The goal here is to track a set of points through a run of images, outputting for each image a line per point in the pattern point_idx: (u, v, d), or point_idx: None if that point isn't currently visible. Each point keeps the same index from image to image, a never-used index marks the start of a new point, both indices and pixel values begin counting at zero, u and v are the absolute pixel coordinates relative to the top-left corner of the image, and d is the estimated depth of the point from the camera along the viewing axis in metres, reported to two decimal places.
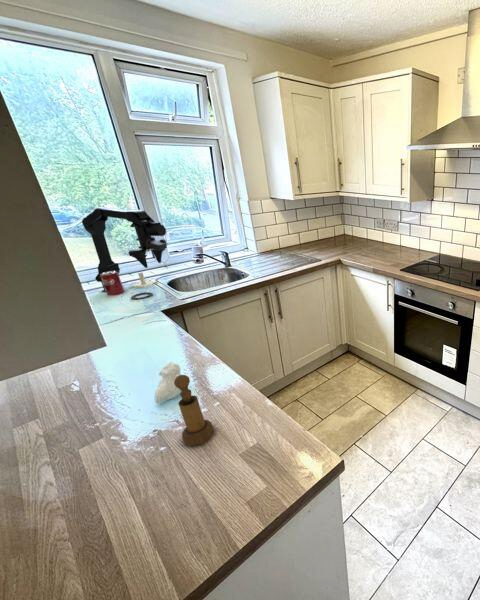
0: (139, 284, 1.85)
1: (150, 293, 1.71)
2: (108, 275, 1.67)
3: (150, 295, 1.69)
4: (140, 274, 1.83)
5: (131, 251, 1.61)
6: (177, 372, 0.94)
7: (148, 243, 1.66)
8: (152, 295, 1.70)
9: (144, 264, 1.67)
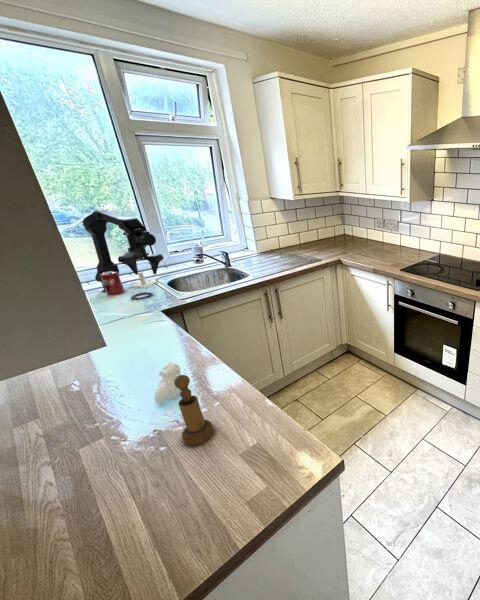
0: (139, 284, 1.85)
1: (150, 293, 1.71)
2: (108, 275, 1.67)
3: (150, 295, 1.69)
4: (140, 274, 1.83)
5: None
6: (177, 372, 0.94)
7: None
8: (152, 295, 1.70)
9: None
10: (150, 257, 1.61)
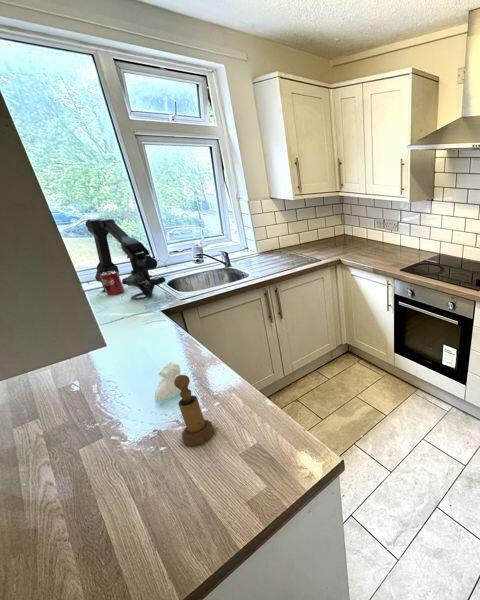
0: None
1: None
2: (108, 275, 1.67)
3: None
4: None
5: None
6: (177, 372, 0.94)
7: None
8: (152, 295, 1.70)
9: None
10: (152, 280, 1.62)
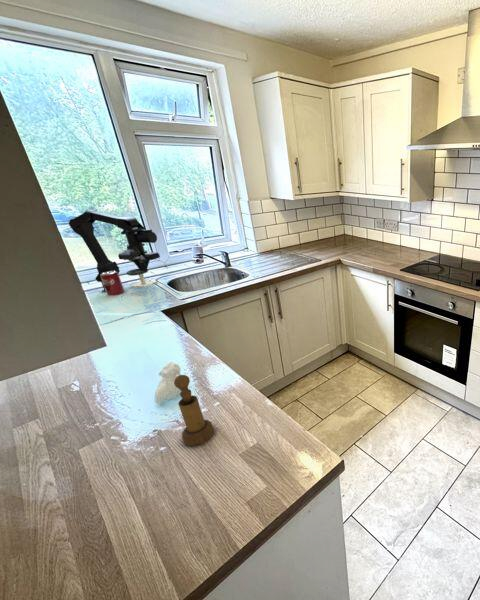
0: (139, 284, 1.85)
1: None
2: (108, 275, 1.67)
3: None
4: (140, 274, 1.83)
5: None
6: (177, 372, 0.94)
7: (127, 250, 1.68)
8: (147, 270, 1.77)
9: None
10: (146, 255, 1.69)
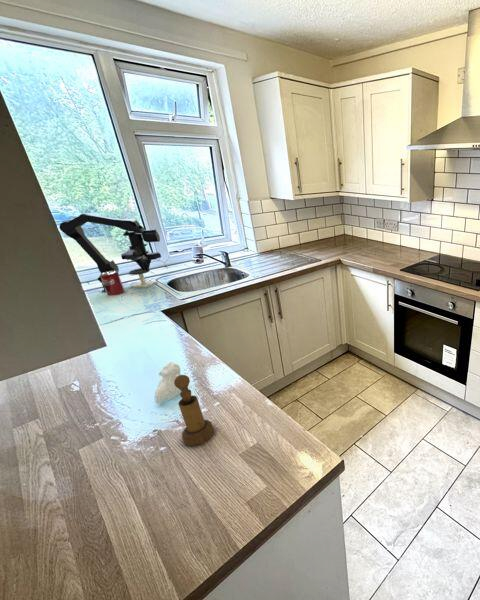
0: (139, 284, 1.85)
1: None
2: (108, 275, 1.67)
3: None
4: (140, 274, 1.83)
5: None
6: (177, 372, 0.94)
7: None
8: (149, 270, 1.85)
9: None
10: (148, 255, 1.77)
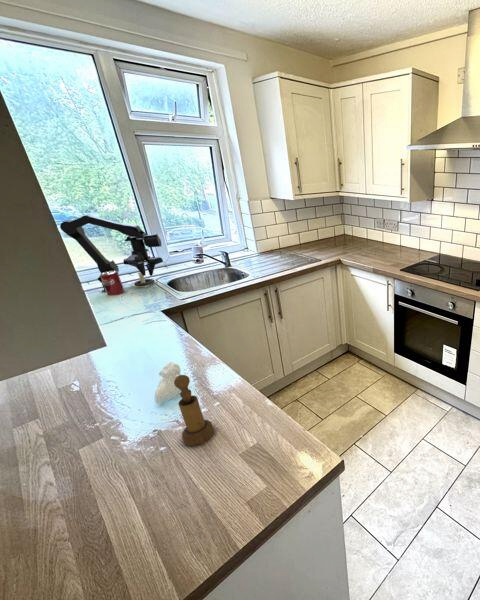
0: None
1: (152, 279, 1.88)
2: (108, 275, 1.67)
3: (152, 281, 1.86)
4: (140, 274, 1.83)
5: None
6: (177, 372, 0.94)
7: None
8: (153, 281, 1.87)
9: None
10: (150, 260, 1.78)
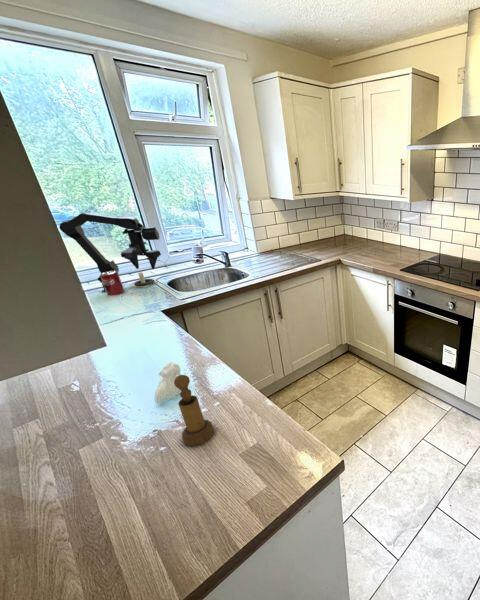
0: None
1: (152, 279, 1.88)
2: (108, 275, 1.67)
3: (152, 281, 1.86)
4: (140, 274, 1.83)
5: None
6: (177, 372, 0.94)
7: None
8: (153, 281, 1.87)
9: None
10: (148, 253, 1.76)
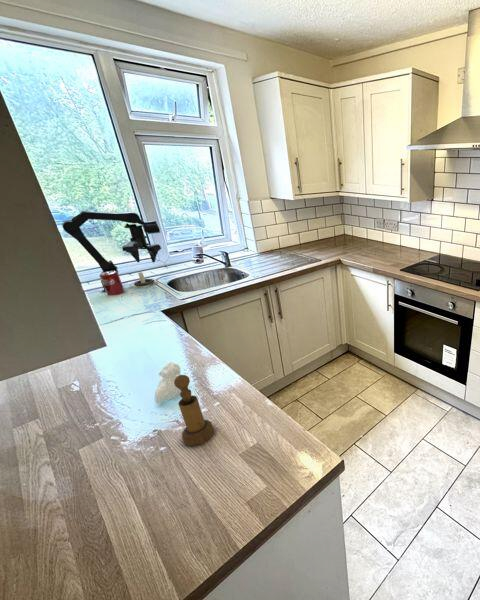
0: None
1: (152, 279, 1.88)
2: (108, 275, 1.67)
3: (152, 281, 1.86)
4: (140, 274, 1.83)
5: None
6: (177, 372, 0.94)
7: None
8: (153, 281, 1.87)
9: None
10: (149, 247, 1.81)
